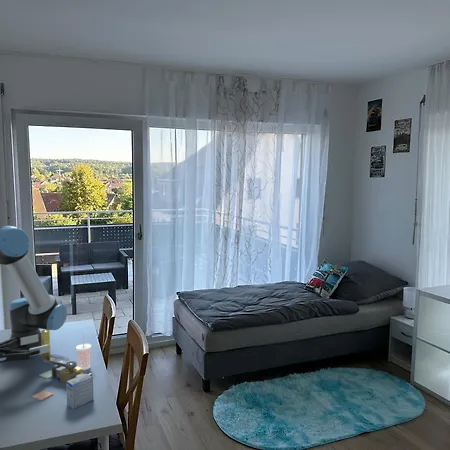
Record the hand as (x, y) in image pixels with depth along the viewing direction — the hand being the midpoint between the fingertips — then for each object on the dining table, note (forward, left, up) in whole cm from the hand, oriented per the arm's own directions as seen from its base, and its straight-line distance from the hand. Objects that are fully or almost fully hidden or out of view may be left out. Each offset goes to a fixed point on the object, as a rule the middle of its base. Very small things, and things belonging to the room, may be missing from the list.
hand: (43, 342), depth 163 cm
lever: (+7, +2, -8) cm, 10 cm away
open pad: (0, +2, -14) cm, 14 cm away
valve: (+13, +3, -14) cm, 19 cm away
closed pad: (+13, -10, -14) cm, 21 cm away
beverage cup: (+7, +14, -14) cm, 21 cm away
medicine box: (+28, -6, -14) cm, 32 cm away
